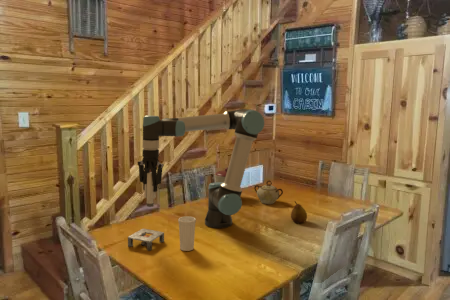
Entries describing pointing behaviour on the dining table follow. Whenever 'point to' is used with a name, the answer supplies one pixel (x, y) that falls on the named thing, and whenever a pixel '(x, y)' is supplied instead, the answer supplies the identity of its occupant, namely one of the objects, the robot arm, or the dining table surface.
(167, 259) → the dining table surface
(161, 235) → the stand
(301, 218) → the fruit
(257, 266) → the dining table surface
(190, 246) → the cup
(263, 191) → the sugar bowl
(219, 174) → the canister
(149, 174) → the beige rod
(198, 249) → the dining table surface
